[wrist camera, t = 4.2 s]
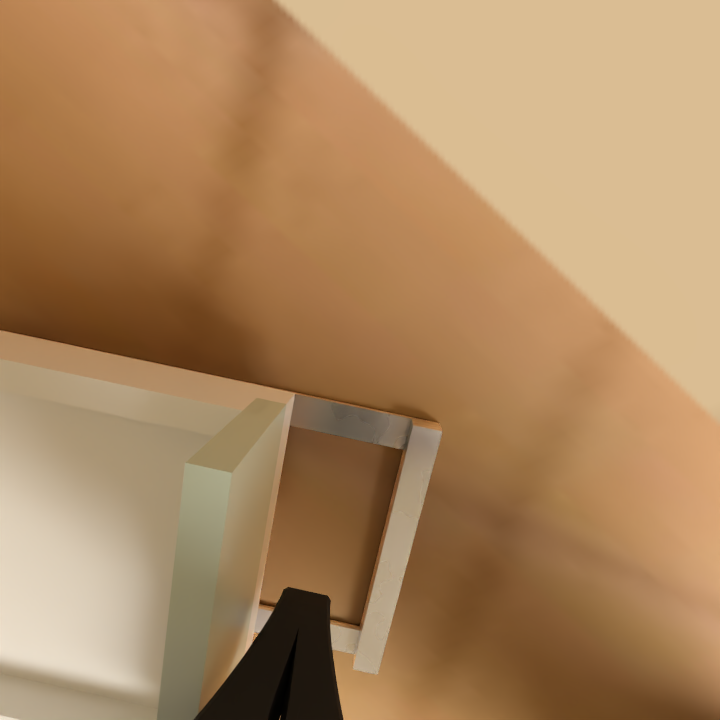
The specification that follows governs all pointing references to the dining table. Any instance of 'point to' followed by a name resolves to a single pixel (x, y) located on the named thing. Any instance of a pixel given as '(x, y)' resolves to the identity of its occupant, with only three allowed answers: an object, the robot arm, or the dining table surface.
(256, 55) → the dining table surface
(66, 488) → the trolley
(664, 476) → the dining table surface
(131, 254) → the dining table surface
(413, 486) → the track
